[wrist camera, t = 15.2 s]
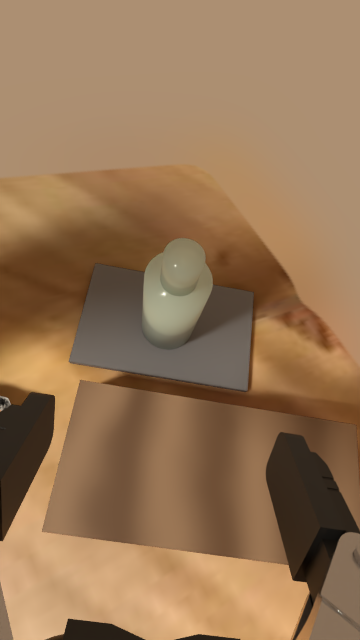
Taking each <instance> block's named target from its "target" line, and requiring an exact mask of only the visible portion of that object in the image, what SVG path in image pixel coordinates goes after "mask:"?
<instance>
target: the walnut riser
mask: <svg viewBox="0 0 360 640" xmlns="http://www.w3.org/2000/svg"><path fill="white" fill-rule="evenodd" d="M280 432H285V433H291V434H297V435H302V436H303V437H304V439H305V441H306V443H307V445H308V447H309V449H310V452H316V453H317V454H318V455H319V456H320V457H321V458H322V460H323V461H324V462H325V463H326V464H327V465H328V467H329V469H330V471H331V473H332V475H333V477H334V481H336V483H337V485H338V487H339V492H341V494H342V496H343V498H344V500H345V502H346V504H347V506H348V508H349V510H350V512H351V514H352V516H353V518H354V520H355V522H356V524H357V526H358V528H359V530H360V481H359V463H358V445H357V427H356V425H355V424H349V423H342V422H336V421H330V420H324V419H318V418H312V417H305V416H299V415H293V414H287V413H281V412H275V411H268V410H262V409H256V408H250V407H244V406H238V405H231V404H225V403H219V402H213V401H207V400H201V399H195V398H188V397H182V396H176V395H170V394H164V393H158V392H151V391H145V390H139V389H133V388H127V387H121V386H114V385H108V384H102V383H96V382H90V381H84V380H80V383H79V387H78V391H77V395H76V398H75V402H74V406H73V410H72V414H71V418H70V422H69V426H68V430H67V434H66V438H65V442H64V446H63V450H62V454H61V458H60V462H59V466H58V470H57V473H56V477H55V481H54V485H53V489H52V493H51V497H50V501H49V505H48V509H47V513H46V517H45V521H44V525H43V529H42V532H47V533H55V534H62V535H70V536H77V537H84V538H92V539H99V540H107V541H114V542H122V543H129V544H137V545H144V546H151V547H159V548H166V549H174V550H181V551H189V552H196V553H203V554H211V555H218V556H226V557H233V558H241V559H248V560H255V561H263V562H270V563H278V564H285V565H289V564H288V560H287V557H286V553H285V549H284V545H283V542H282V538H281V534H280V531H279V527H278V523H277V519H276V516H275V512H274V508H273V504H272V501H271V497H270V493H269V489H268V486H267V482H266V466H267V462H268V459H269V457H270V454H271V452H272V449H273V446H274V444H275V441H276V439H277V436H278V434H279V433H280Z"/></svg>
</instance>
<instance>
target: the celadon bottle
mask: <svg viewBox="0 0 360 640" xmlns="http://www.w3.org/2000/svg"><path fill="white" fill-rule="evenodd" d="M205 260H206V256H205V252H204V250H203V248H202V247H201V246H200V245H199V244H198V243H197V242H195V241H194V240H191V239H188V238H178V239H175V240H173V241H171V242H170V243H168V244H167V246H166V247H165V249H164V252H162V253H160V254H158V255H157V256H155V257H154V258H153V259H152V260H151V261H150V262H149V264H148V265H147V267H146V270H145V274H144V288H143V308H142V331H143V334H144V336H145V338H146V339H147V340H148V341H149V342H150V343H151V344H152V345H154V346H155V347H157V348H160V349H165V350H171V349H176V348H178V347H181V346H182V345H184V344H185V343H186V342H187V341H188V339H189V338H190V336H191V334H192V332H193V330H194V328H195V326H196V323H197V321H198V319H199V317H200V315H201V313H202V311H203V308H204V306H205V304H206V302H207V300H208V298H209V296H210V294H211V291H212V287H213V278H212V274H211V271H210V269H209V267H208V266H207V264H206V263H205Z"/></svg>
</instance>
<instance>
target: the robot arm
mask: <svg viewBox="0 0 360 640" xmlns="http://www.w3.org/2000/svg"><path fill="white" fill-rule="evenodd" d="M54 412H55V396H54V395H48V394H42V393H36V392H31V393H30V394H29V395H28V397H27V398H26V400H25V401H24V403H23V404H22V405H21V406H18V405H10V406H9V407H7V408H5V409H4V410H2V411H1V412H0V541H3V540H4V538H5V536H6V533H7V531H8V529H9V527H10V525H11V523H12V521H13V519H14V517H15V515H16V513H17V511H18V509H19V507H20V505H21V503H22V501H23V499H24V497H25V495H26V493H27V491H28V489H29V487H30V485H31V483H32V481H33V479H34V477H35V475H36V473H37V471H38V469H39V467H40V465H41V463H42V461H43V459H44V457H45V455H46V453H47V451H48V449H49V446H50V444H51V440H52V437H53V431H54ZM266 482H267V486H268V489H269V493H270V497H271V501H272V504H273V508H274V512H275V516H276V519H277V523H278V527H279V531H280V534H281V538H282V542H283V545H284V549H285V553H286V557H287V560H288V564H289V568H290V572H291V575H292V579H293V581H300V582H307V584H308V588H309V591H310V592H309V594H308V596H307V598H306V600H305V603H304V606H303V608H302V611H301V614H300V616H299V619H298V621H297V624H296V627H295V629H294V632H293V635H292V637H291V640H360V530H359V528H358V526H357V524H356V522H355V520H354V518H353V516H352V514H351V512H350V510H349V508H348V506H347V504H346V502H345V500H344V498H343V496H342V494H341V492H339V487H338V485H337V483H336V481H334V477H333V475H332V473H331V471H330V469H329V467H328V465H327V464H326V463H325V462H324V461H323V460H322V458H321V457H320V456H319V455H318V454H317V453H316V452H310V449H309V447H308V445H307V443H306V441H305V439H304V437H303V436H302V435H297V434H291V433H285V432H280V433H279V434H278V436H277V439H276V441H275V444H274V446H273V449H272V452H271V454H270V457H269V459H268V462H267V466H266ZM0 640H13V636H12V632H11V628H10V623H9V619H8V614H7V610H6V606H5V601H4V597H3V592H2V588H1V584H0ZM46 640H145V639H142V638H140V637H138V636H136V635H134V634H132V633H130V632H128V631H125V630H123V629H121V628H119V627H117V626H115V625H113V624H108V623H100V622H91V621H83V620H74V619H68V621H67V625H66V629H65V633H64V634H62V635H58V636H54V637H51V638H49V639H46ZM176 640H240V639H235V638H226V637H218V636H210V635H201V634H198V635H193V636H189V637H185V638H180V639H176Z"/></svg>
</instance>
